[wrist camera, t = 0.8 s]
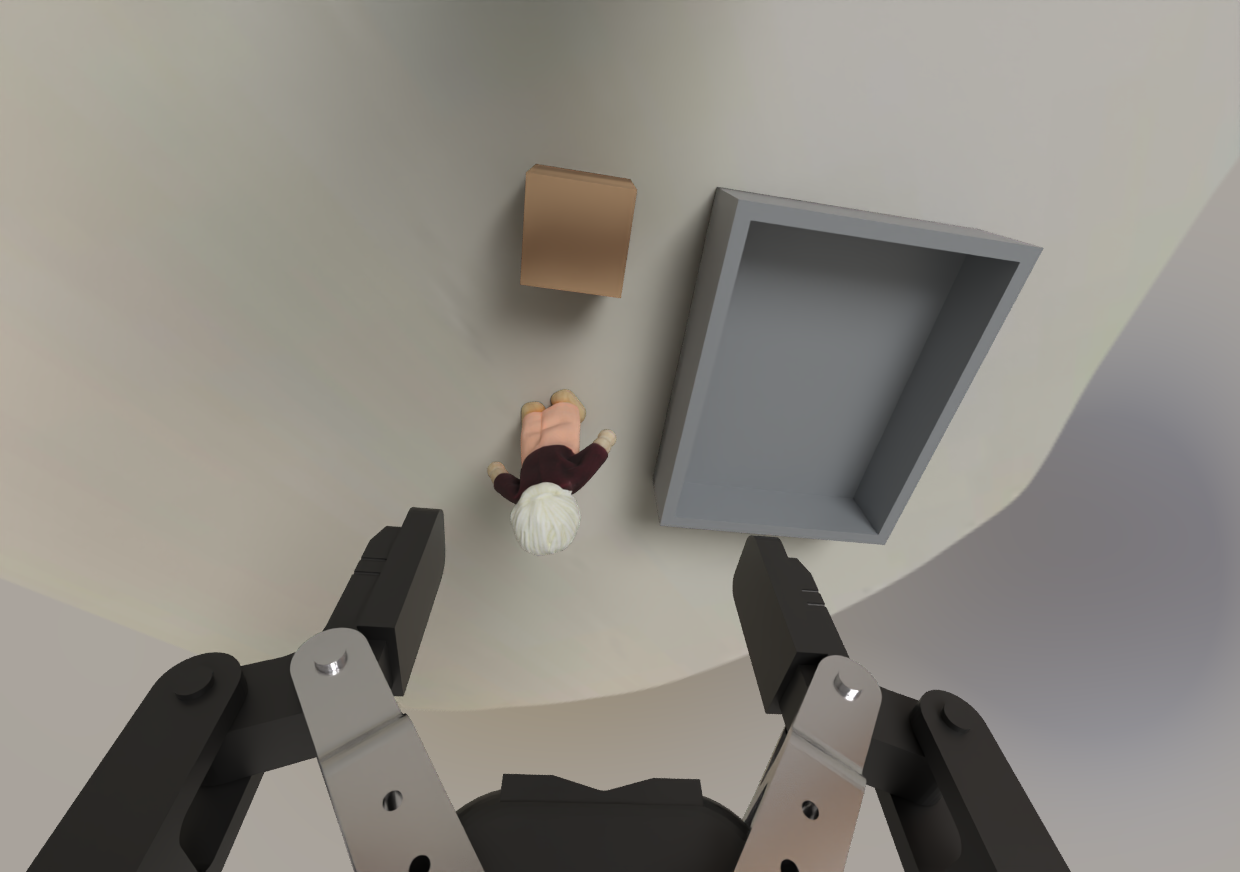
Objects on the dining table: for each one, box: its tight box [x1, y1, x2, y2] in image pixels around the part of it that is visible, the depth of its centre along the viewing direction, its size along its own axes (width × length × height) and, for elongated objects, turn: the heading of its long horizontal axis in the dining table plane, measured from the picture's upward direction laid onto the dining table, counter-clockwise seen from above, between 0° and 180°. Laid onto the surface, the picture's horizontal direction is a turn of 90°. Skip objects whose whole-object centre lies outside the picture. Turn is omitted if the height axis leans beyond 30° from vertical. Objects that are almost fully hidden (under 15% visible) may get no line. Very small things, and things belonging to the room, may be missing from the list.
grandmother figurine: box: [487, 389, 616, 556], centre depth 30 cm, size 8×4×13 cm, turn 120°
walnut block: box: [520, 164, 637, 298], centre depth 27 cm, size 5×5×5 cm
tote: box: [653, 187, 1043, 545], centre depth 32 cm, size 20×16×5 cm
